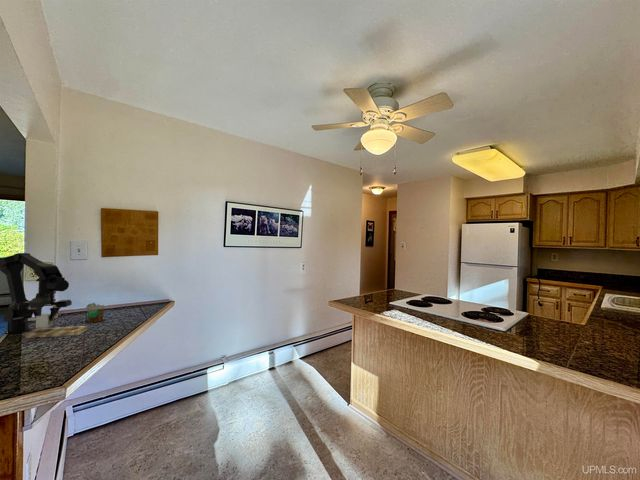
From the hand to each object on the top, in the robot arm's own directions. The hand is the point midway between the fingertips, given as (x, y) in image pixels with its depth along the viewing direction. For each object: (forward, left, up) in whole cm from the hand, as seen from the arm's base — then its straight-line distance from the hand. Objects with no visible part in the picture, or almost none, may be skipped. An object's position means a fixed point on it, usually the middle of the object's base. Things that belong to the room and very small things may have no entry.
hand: (45, 321), depth 134 cm
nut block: (0, 0, -3) cm, 3 cm away
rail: (+5, 0, -7) cm, 9 cm away
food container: (+11, +21, -7) cm, 25 cm away
